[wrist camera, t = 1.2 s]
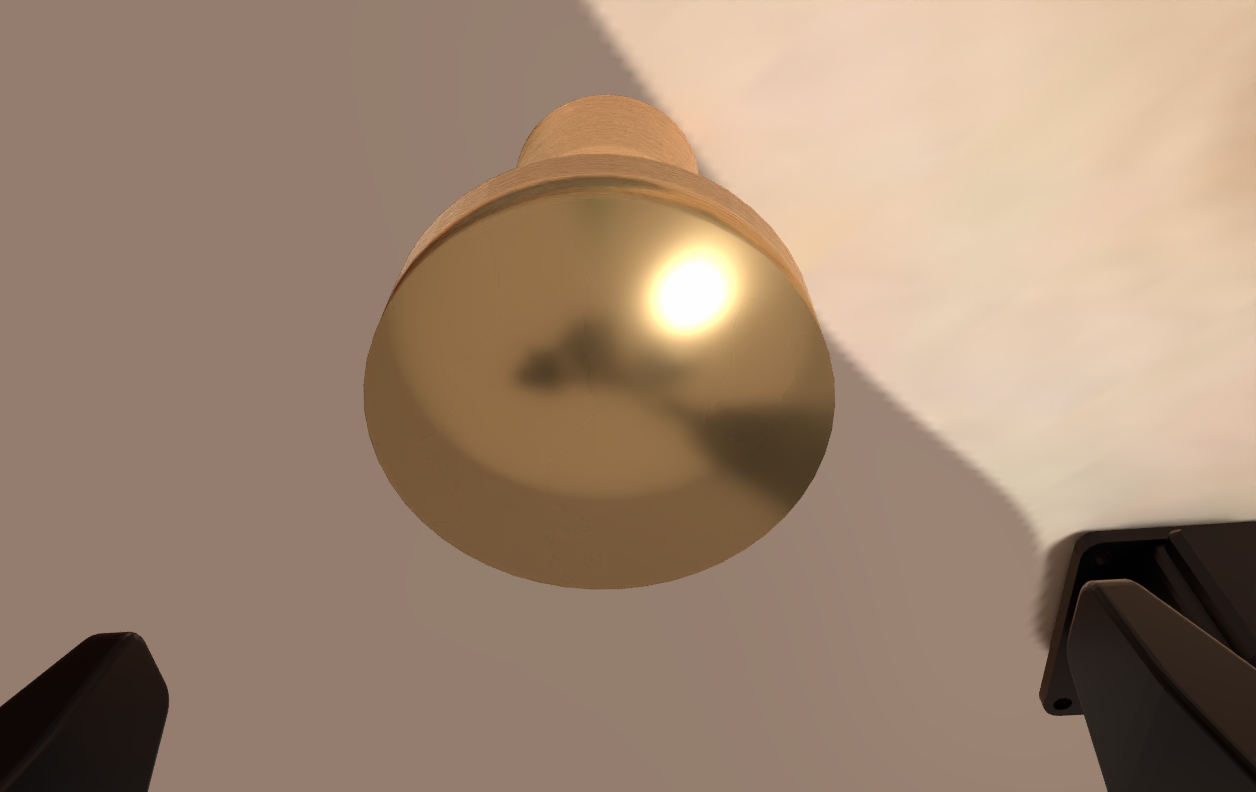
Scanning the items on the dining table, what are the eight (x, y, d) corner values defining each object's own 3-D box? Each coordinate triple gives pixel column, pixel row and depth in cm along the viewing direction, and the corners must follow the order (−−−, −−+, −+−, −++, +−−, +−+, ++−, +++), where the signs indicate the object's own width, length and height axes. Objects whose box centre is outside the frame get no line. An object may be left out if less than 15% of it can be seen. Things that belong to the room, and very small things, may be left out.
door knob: (760, 309, 21) (826, 576, 14) (480, 329, 21) (415, 601, 14) (760, 14, 17) (845, 180, 11) (427, 41, 18) (309, 220, 11)
